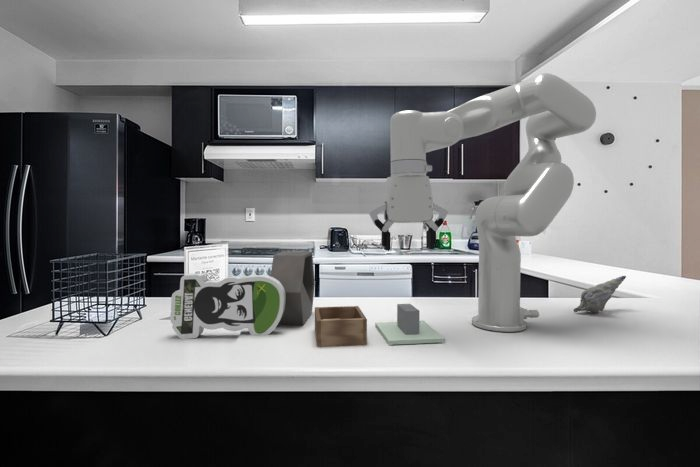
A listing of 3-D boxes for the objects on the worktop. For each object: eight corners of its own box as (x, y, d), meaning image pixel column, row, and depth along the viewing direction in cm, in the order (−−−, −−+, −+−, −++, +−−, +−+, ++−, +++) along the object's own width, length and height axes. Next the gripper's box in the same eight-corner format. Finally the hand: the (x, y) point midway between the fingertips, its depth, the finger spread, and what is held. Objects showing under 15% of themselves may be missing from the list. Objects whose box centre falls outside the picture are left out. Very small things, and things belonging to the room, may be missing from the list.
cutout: (166, 276, 84) (281, 267, 84) (171, 275, 87) (283, 266, 87) (172, 345, 85) (286, 336, 85) (178, 341, 87) (288, 332, 88)
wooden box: (358, 331, 90) (358, 306, 90) (366, 348, 78) (366, 319, 78) (314, 333, 89) (314, 307, 88) (317, 350, 77) (316, 320, 76)
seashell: (562, 309, 112) (563, 274, 112) (620, 309, 112) (621, 274, 112) (584, 318, 102) (584, 280, 102) (647, 318, 102) (648, 280, 102)
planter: (297, 315, 86) (307, 235, 96) (263, 315, 86) (276, 235, 97) (309, 337, 100) (316, 266, 111) (280, 337, 101) (290, 265, 111)
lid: (423, 329, 93) (423, 300, 93) (445, 348, 79) (445, 314, 79) (375, 331, 91) (375, 301, 91) (388, 350, 78) (388, 315, 77)
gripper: (440, 172, 89) (440, 247, 89) (365, 172, 86) (366, 249, 87) (453, 168, 81) (453, 249, 82) (372, 168, 79) (373, 252, 80)
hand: (408, 249), depth 85 cm, fingers open, 9 cm apart
